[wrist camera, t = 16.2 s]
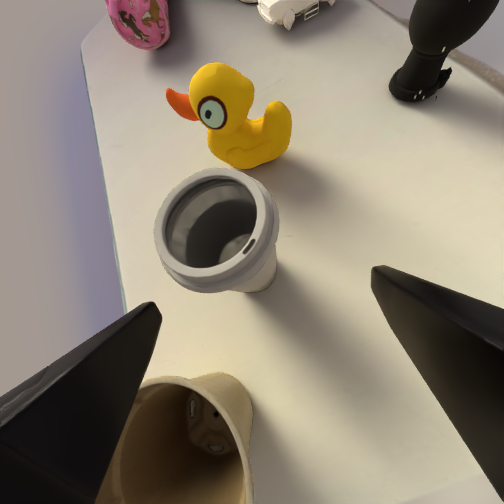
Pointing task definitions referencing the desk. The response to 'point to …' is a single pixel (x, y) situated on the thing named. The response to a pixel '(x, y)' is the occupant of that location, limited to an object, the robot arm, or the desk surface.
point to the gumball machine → (436, 43)
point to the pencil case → (141, 21)
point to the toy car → (286, 10)
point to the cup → (218, 232)
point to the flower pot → (183, 445)
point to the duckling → (233, 117)
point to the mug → (249, 1)
